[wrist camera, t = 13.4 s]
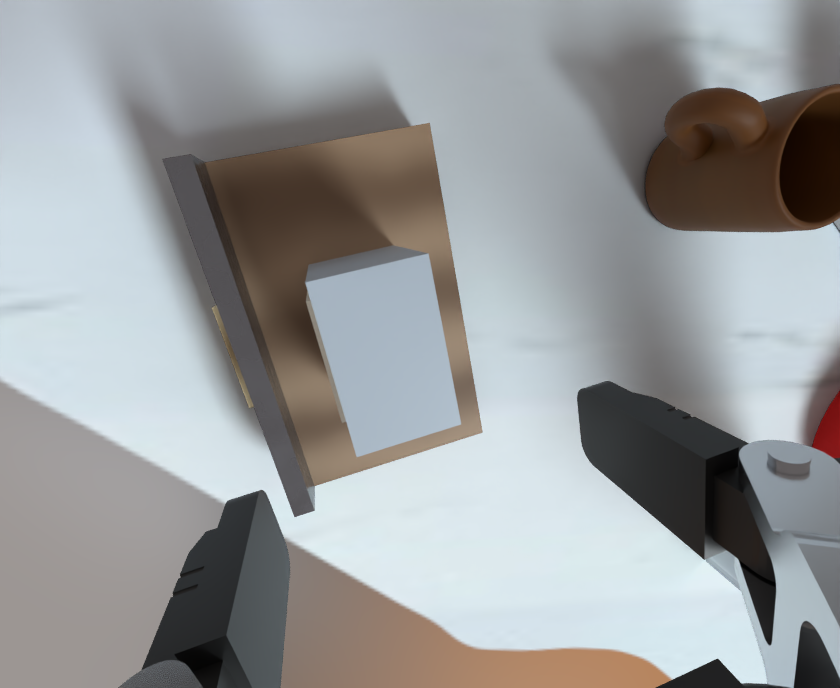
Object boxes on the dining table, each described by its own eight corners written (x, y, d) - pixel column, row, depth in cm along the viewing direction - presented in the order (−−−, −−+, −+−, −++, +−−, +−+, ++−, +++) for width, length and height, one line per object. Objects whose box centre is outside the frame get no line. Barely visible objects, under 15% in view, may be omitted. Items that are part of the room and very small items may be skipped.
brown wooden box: (467, 414, 32) (497, 450, 27) (289, 469, 29) (284, 520, 24) (417, 134, 25) (442, 111, 20) (185, 176, 23) (148, 161, 18)
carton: (398, 244, 24) (435, 251, 17) (424, 367, 27) (467, 422, 19) (303, 265, 23) (297, 284, 16) (340, 391, 26) (350, 459, 18)
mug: (577, 184, 29) (691, 165, 20) (623, 73, 28) (768, 1, 19) (694, 245, 33) (834, 252, 24) (740, 150, 31) (906, 120, 23)
